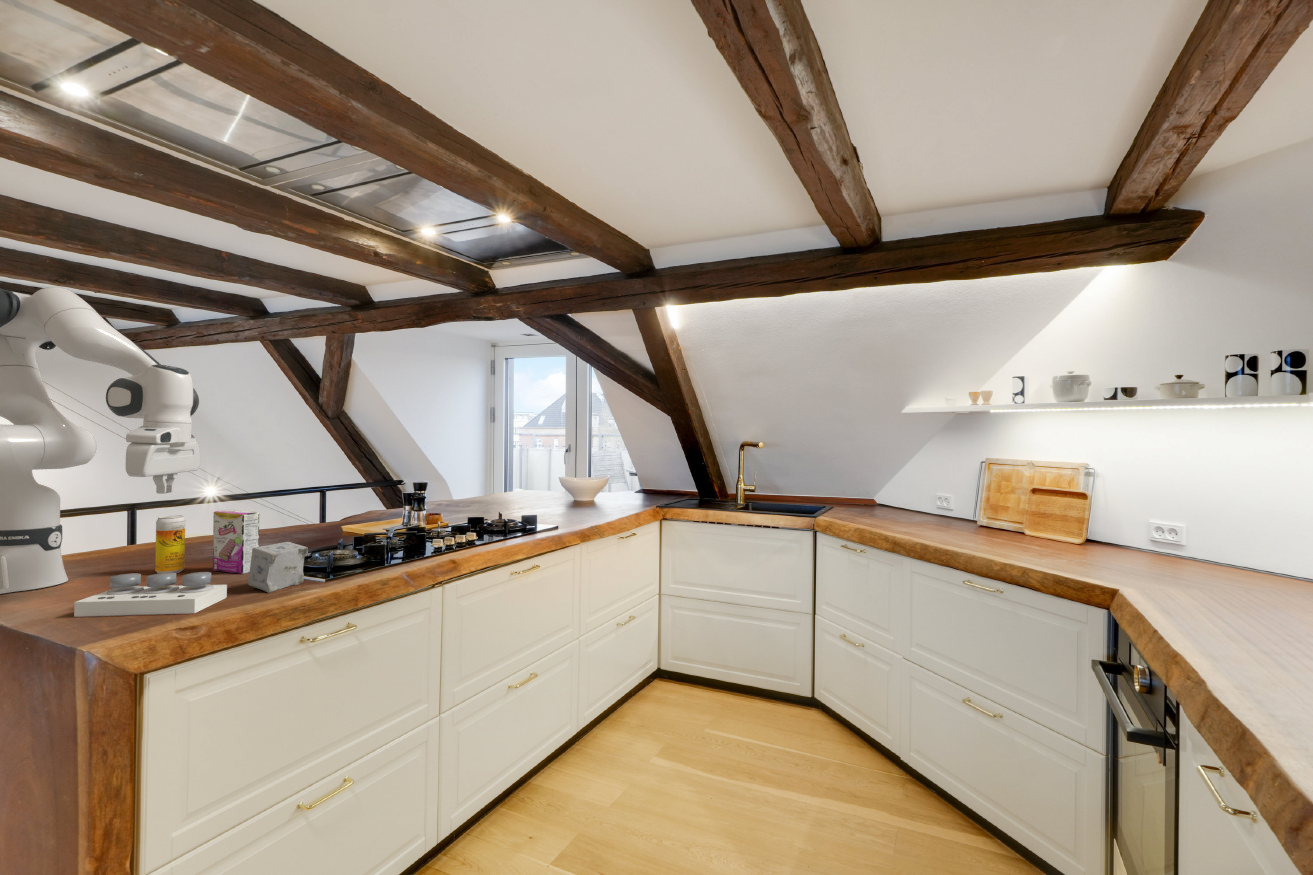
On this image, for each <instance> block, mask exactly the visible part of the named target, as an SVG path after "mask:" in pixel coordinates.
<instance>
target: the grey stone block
mask: <svg viewBox="0 0 1313 875" xmlns="http://www.w3.org/2000/svg"><path fill="white" fill-rule="evenodd" d="M308 549H309V548H308V546H304V545H301V544H297V543H294V542H291V541H283V542H278V543H273V544H268V545H261V546H260V545H259V547H254V548H253V549H252V556H251V564H250V573H248V581H247V585H248V586H250V587H252V588H255V589H260V590H262V591H264V592H266V593H269V594H270V593H273V592H275V591H277V590H282V589H283V588H288V587H291V586H297V585H300V584H302V583H304V578H305V575H304V564H305V557H307V556H308V553H309V551H308Z"/></svg>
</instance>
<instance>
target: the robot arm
mask: <svg viewBox="0 0 1313 875" xmlns="http://www.w3.org/2000/svg"><path fill="white" fill-rule="evenodd" d="M56 347H57V348H58V349H59V350H61V351H62V352H64V353H65V354H67V355H69V356H71V357H74V358H76V359H79V360H83V361H89V362H92V363H97V364H102V365H106V366H109V367H114V368H116V369H120V370H122V371H124V372H126V373H127V374H130V375H131V376H128V377H121V378H117V379H116V380H114V381H113V382H112V383H111V384H110V385H109V386H108V388H107V389H106V392H105V401H106V402H105V403H106V405H107V407H108V409H109V410H110V411H111V413H113V414H114V415H115V416H117V417H122V418H128V419H143V421H142V425H141V426H139V427H137V428H135V429H133V430H131V431H129V432H127V433H126V435H125V440H126V442H127V443H129V444H128V445H127V446H126V449H125V450H126V451H125V472H126V474H127V475H128V477H132V478H133V477H136V478H147V477H152V480H153V483H154V485H155V486H156V488H155V489H156V490H155V492H156V494H158V495H159V494H160V495H161V494H162V495H163V494H164V495H165V494H169V493H173V491H174V485H175V483H176V481H177V479H178V474H180V473H181V474H182V473H187V472H188V473H189V472H195V471H196V472H197V471H198V470H199V468H200V466H201V456H200V455H201V454H200V453H201V452H200V446H199V443H198V442H197V439H196V437H195V436H194V435H193V433H192V430H193V429H192V427H193V424H192V423H193V420H192V416H193V415H194V414H195V413H196V412H197V411H198V408H199V405H200V398H199V395H198V393H197V390H196V389H195V388H194V384H193V378H192V375H191V373H190V372H189V371H188V370H187V369H184V368H182V367H178V366H171V365H166V364H161V363H160V362H159V361H157V360H156V359H155V358H154V357H153V356H152V355H151V354H149V353H148V351H146V350H145V349H143V348H142V347H141V346H139V345H138V344H137V343H136V342H133V341H132V340H131V339H129V338H128V337H127V336H125V335H124V334H122V333H120V331H118V330H117V329H116V328H115V327H113V326H112V325H111V324H110V323H108V321H106V320H105V319H104V318H103V317H102V316H101V315H100V314H99V313H98V311H96V309H95V308H94V307H93V306H92V305H90V304H89V303H88V302H87V301H85V300H84V299H83V298H81V297H80V296H79V295H78V294H76V293H75V292H73V291H71V290H69V289H68V288H67V289H66V288H65V287H59V286H50V287H43V288H41V289H39V290H37V291H36V292H34V293H33V294H29V293H21V292H16V291H13V290H7V289H3V288H0V417H1V418H4V419H5V420H7V421H8V422H10V423H11V424H0V595H1V594H2V595H3V594H7V593H13V592H21V591H22V592H24V591H31V590H36V589H42V588H48V587H53V586H56V585H60V584H64V583H66V582H68V581H69V578H68V575H67V573H66V570H65V566H64V561H63V556H62V549H61V546H62V542H63V525H62V524H61V496H60V494H59V493H58V492H57V491H56V490H55V489H53V488H51V487H49V486H46V485H44V484H40V483H39V482H37V480H36V479H35V477H34V473H33V470H34V471H35V470H37V471H38V470H58V469H59V470H61V469H62V470H63V469H70V468H74V467H78V466H84V465H86V464H88V463H90V461H91V460H93V458H94V456H95V455H96V453H97V441H96V439H95V437H94V436H93V434H92V433H91V432H90V431H88V430H87V429H85V428H83V427H81V426H79V425H77V424H75V423H74V422H72V421H70V420H69V419H68V418H67V417H66V416H65V415H64V414H62V413H61V412H60V411H59V410H58V408H57V407H56V406H55V405H54V404H53V402H52V400H51V398H50V396H49V395H48V392H47V389H46V387H45V383H44V381H43V378H42V374H41V371H40V368H39V365H38V362H37V359H36V358H37V356H36V353H37V350H38V349H42V350H47V351H51V350H54V348H56Z"/></svg>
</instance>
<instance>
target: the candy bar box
mask: <svg viewBox="0 0 1313 875" xmlns="http://www.w3.org/2000/svg"><path fill="white" fill-rule="evenodd" d="M212 523H213V525H212V526H213V529H212V530H213V535H212V536H213V537H212V538H213V540H212V541H213V544H212V545H213V546H212V547H213V548H212V550H213V551H212V552H213V553H212V571H215V572H222V573H232V574H241V575H244V574H245V575H246V574H249V573H250V564H251V556H252V549H253V548H254V547H260V512H259V511H249V510H239V509H221V510H215V511H213V522H212Z"/></svg>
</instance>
